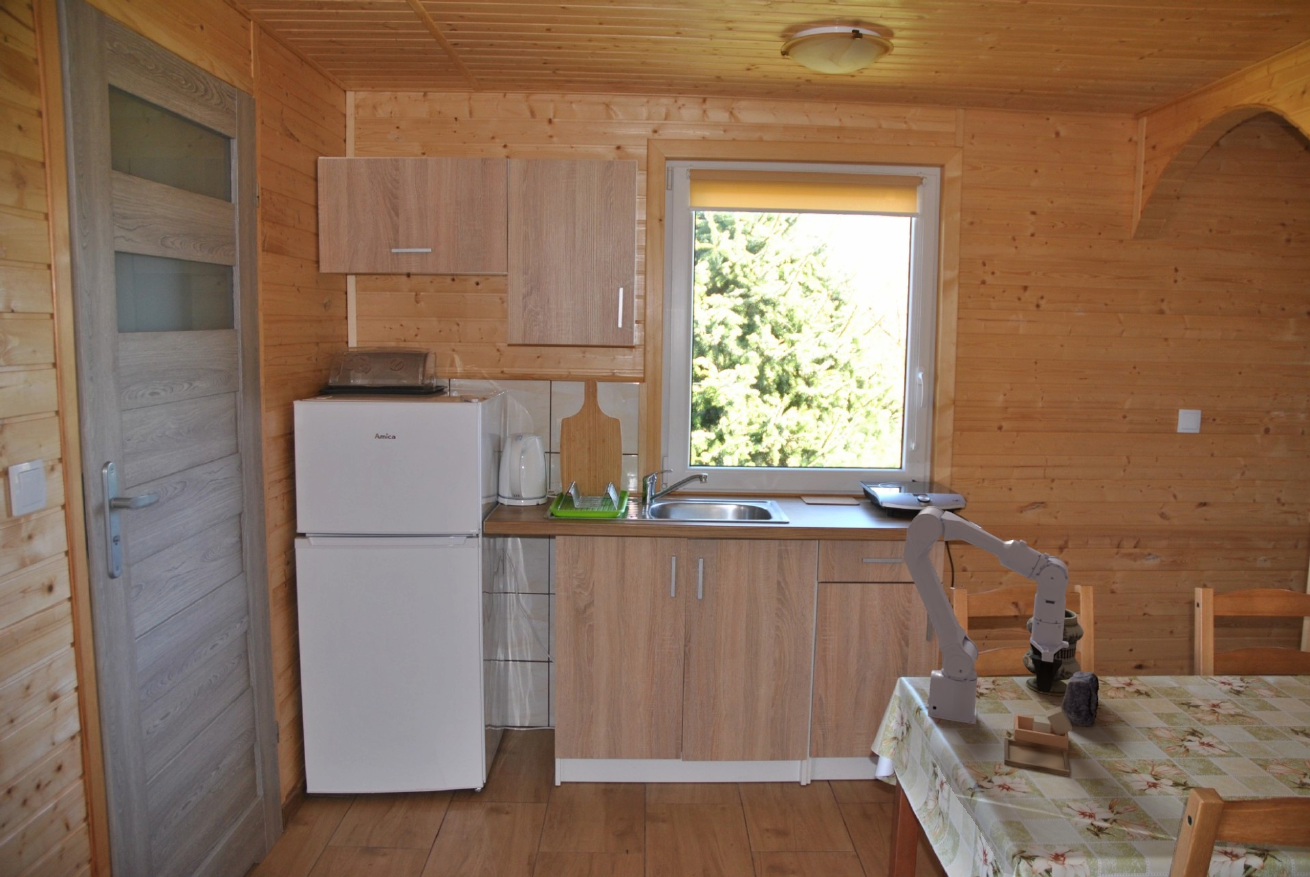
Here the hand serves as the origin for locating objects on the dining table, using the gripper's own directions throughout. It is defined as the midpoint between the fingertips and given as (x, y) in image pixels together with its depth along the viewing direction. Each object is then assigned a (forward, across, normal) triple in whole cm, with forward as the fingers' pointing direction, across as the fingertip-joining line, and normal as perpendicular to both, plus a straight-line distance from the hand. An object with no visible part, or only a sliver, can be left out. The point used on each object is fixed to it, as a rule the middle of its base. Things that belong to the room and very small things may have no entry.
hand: (1042, 684), depth 184 cm
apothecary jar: (+10, +26, -3) cm, 28 cm away
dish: (+10, -5, 0) cm, 11 cm away
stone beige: (+6, -5, -2) cm, 8 cm away
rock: (+10, +9, -8) cm, 16 cm away
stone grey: (+7, -5, +1) cm, 9 cm away
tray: (+10, -14, +1) cm, 17 cm away
